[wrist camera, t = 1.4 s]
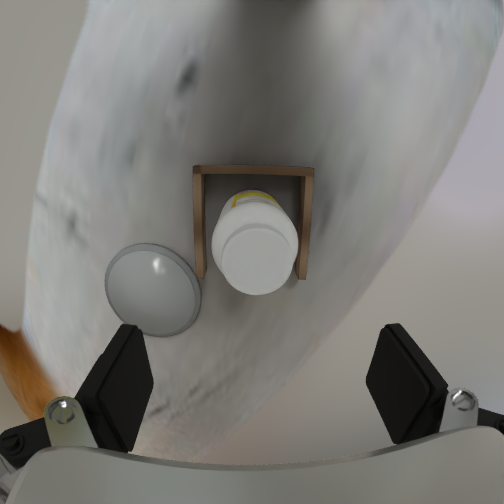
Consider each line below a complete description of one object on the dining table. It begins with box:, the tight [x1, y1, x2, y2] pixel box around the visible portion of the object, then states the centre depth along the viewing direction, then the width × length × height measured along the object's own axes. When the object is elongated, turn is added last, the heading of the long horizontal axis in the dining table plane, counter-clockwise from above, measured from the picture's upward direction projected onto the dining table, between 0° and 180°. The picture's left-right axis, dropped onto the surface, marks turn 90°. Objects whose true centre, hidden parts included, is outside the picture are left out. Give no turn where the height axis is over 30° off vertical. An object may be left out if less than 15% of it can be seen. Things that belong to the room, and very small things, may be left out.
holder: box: [193, 165, 314, 280], centre depth 29 cm, size 12×12×2 cm
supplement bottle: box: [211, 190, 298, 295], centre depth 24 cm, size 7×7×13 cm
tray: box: [105, 244, 201, 337], centre depth 33 cm, size 12×12×1 cm
